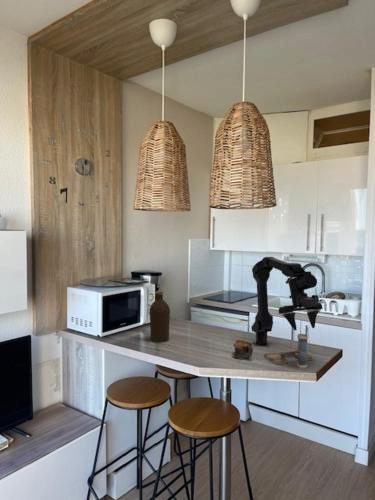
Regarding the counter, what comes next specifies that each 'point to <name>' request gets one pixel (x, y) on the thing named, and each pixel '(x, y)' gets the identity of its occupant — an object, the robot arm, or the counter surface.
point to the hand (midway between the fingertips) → (304, 329)
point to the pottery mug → (242, 349)
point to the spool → (302, 350)
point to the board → (283, 356)
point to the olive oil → (159, 319)
